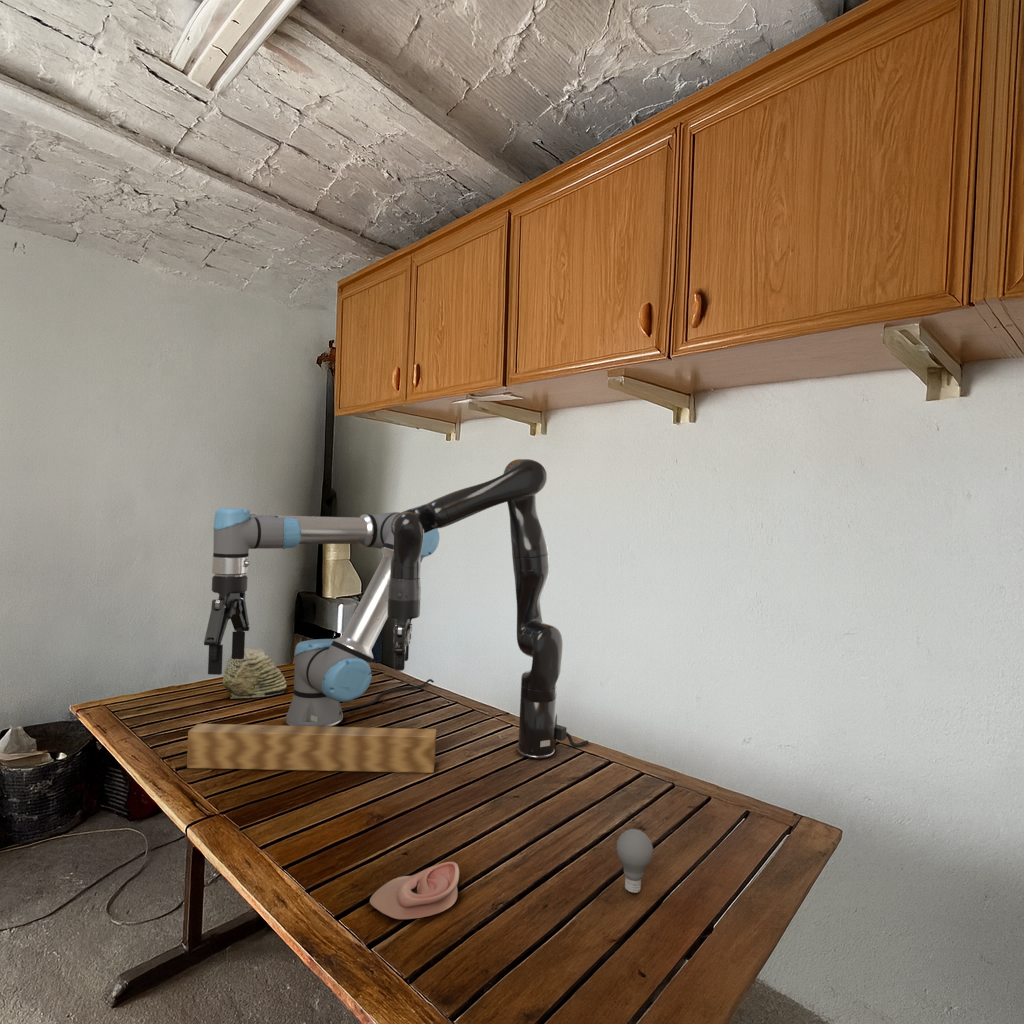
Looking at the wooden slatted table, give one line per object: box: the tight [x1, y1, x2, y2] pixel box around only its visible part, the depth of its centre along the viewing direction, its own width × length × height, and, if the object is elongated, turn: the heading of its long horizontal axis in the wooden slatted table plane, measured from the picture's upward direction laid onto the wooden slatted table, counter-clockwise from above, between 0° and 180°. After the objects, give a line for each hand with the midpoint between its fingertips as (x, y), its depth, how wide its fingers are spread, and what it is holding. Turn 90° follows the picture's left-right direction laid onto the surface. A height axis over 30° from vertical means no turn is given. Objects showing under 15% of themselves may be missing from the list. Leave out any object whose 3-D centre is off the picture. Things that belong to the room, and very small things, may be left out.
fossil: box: [222, 646, 288, 699], centre depth 198 cm, size 9×18×15 cm, turn 132°
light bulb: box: [615, 828, 654, 894], centre depth 106 cm, size 6×6×10 cm
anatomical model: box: [369, 861, 460, 920], centre depth 101 cm, size 13×4×12 cm
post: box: [186, 723, 437, 774], centre depth 149 cm, size 56×5×8 cm, turn 93°
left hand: (226, 666), depth 147 cm, fingers open, 13 cm apart
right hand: (401, 665), depth 149 cm, fingers open, 8 cm apart
